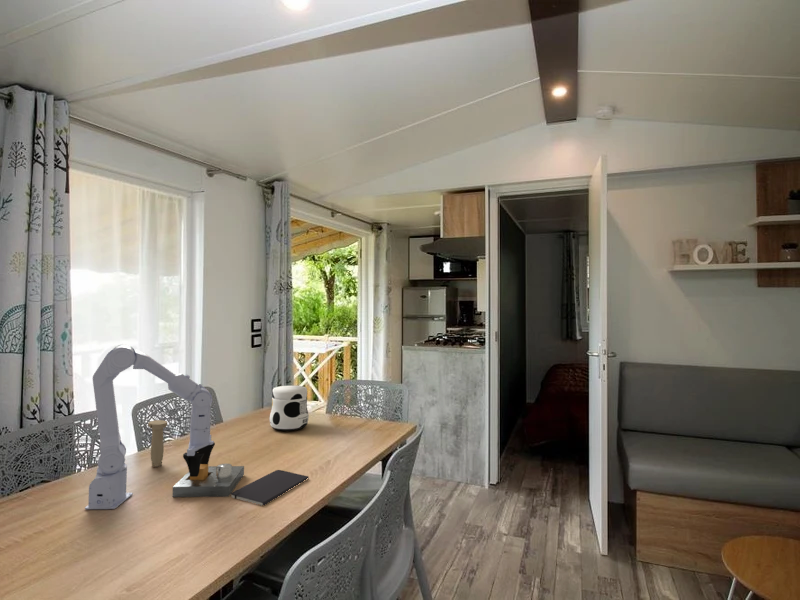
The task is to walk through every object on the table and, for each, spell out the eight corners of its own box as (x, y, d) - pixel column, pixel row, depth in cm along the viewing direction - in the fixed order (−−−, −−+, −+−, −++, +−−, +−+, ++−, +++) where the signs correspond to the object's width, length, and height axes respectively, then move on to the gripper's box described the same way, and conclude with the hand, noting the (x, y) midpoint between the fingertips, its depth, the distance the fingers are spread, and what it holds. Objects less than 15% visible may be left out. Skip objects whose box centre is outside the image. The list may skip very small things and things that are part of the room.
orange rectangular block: (203, 488, 134) (203, 468, 134) (189, 488, 134) (190, 468, 134) (207, 483, 138) (208, 464, 138) (194, 483, 138) (195, 464, 138)
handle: (156, 469, 148) (157, 425, 148) (144, 466, 151) (145, 422, 151) (169, 465, 153) (170, 421, 153) (156, 461, 155) (157, 419, 155)
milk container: (269, 424, 206) (269, 385, 206) (306, 421, 211) (307, 384, 211) (269, 434, 189) (270, 393, 190) (310, 432, 195) (311, 391, 195)
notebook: (262, 508, 123) (308, 481, 143) (262, 502, 123) (308, 476, 143) (229, 498, 129) (277, 473, 148) (229, 493, 129) (277, 469, 148)
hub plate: (228, 496, 129) (229, 476, 129) (172, 497, 128) (172, 476, 128) (243, 475, 145) (244, 457, 145) (194, 475, 144) (194, 457, 144)
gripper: (204, 434, 129) (203, 480, 129) (221, 421, 144) (220, 462, 144) (180, 434, 129) (178, 480, 129) (199, 421, 143) (197, 462, 143)
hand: (199, 471), depth 136 cm, fingers open, 7 cm apart
